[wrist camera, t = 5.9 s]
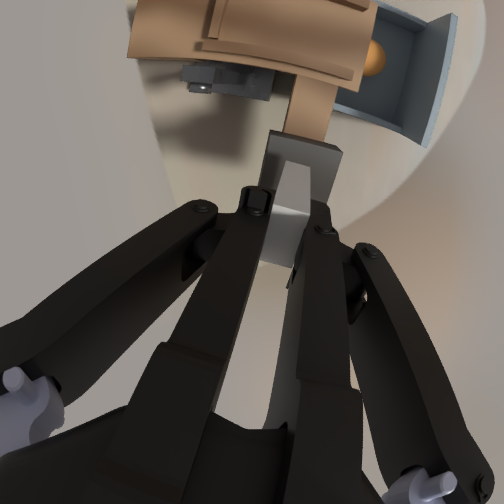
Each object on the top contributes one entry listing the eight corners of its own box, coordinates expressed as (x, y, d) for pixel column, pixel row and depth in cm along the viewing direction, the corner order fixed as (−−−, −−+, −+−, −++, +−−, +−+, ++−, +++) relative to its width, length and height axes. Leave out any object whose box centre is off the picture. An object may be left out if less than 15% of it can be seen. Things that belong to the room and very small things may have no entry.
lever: (167, -14, 14) (136, -37, 9) (357, 15, 16) (389, -3, 10) (142, 153, 25) (108, 179, 19) (313, 181, 26) (328, 217, 20)
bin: (324, -2, 17) (329, -37, 10) (418, 32, 16) (458, 16, 9) (301, 98, 24) (298, 101, 17) (394, 129, 23) (427, 148, 16)
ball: (397, 45, 16) (377, 47, 19) (356, 27, 15) (340, 33, 18) (388, 84, 18) (369, 81, 21) (347, 67, 17) (332, 68, 21)
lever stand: (219, -22, 17) (180, -58, 9) (296, -16, 17) (288, -59, 8) (195, 89, 25) (145, 94, 17) (269, 101, 25) (249, 106, 16)
